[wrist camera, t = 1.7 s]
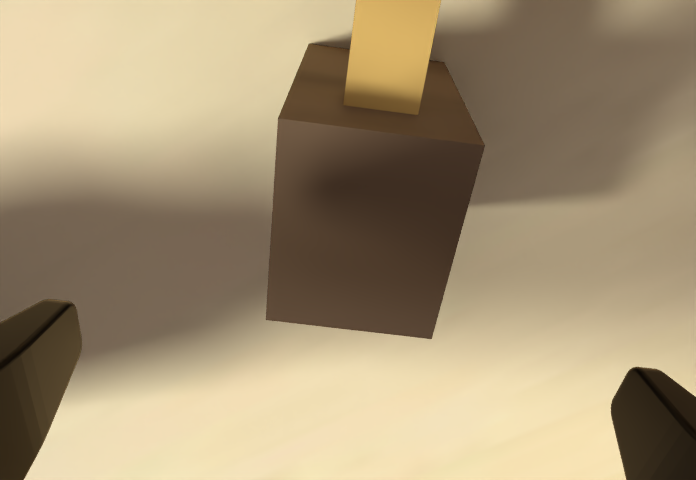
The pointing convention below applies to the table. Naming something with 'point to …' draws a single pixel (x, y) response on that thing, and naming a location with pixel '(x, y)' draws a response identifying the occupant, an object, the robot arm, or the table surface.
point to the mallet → (371, 178)
